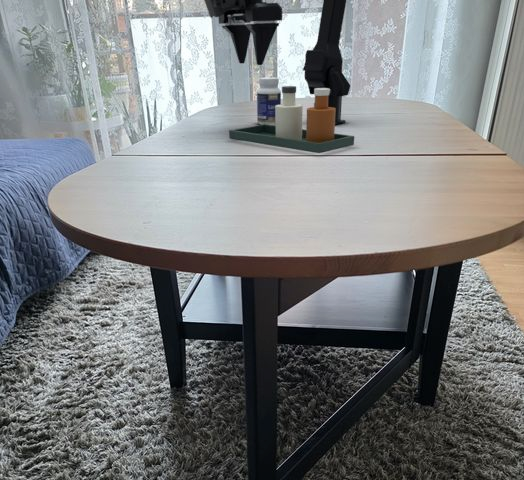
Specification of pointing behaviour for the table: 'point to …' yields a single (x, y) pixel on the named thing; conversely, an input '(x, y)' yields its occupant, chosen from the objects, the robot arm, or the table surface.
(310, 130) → the amber bottle
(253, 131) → the tray
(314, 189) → the table surface
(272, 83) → the pill bottle
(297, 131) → the white bottle
